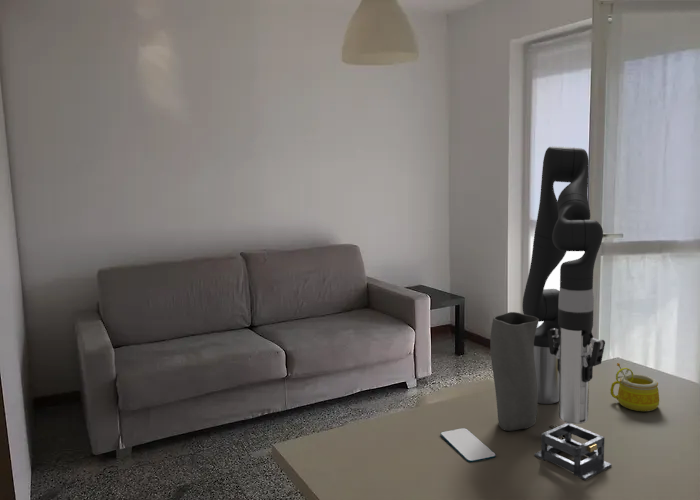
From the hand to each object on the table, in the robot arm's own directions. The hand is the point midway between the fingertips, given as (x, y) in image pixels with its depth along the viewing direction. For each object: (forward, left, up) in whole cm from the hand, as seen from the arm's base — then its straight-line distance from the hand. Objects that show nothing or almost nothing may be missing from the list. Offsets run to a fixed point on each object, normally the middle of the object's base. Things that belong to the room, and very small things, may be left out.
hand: (574, 377), depth 138 cm
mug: (-9, +41, -21) cm, 47 cm away
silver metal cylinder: (0, 0, -10) cm, 10 cm away
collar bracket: (0, 0, -21) cm, 21 cm away
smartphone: (-21, -14, -22) cm, 33 cm away
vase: (-21, +4, -21) cm, 30 cm away
